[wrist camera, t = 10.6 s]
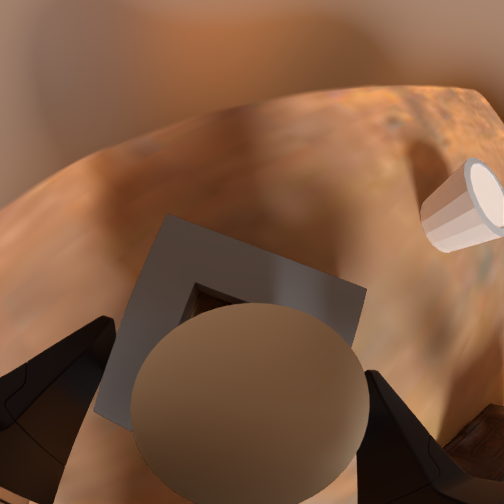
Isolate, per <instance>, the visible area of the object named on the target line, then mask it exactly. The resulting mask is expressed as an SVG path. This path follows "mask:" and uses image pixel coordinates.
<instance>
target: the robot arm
mask: <svg viewBox="0 0 504 504" xmlns="http://www.w3.org/2000/svg"><path fill="white" fill-rule="evenodd" d="M115 340H116V330H115V323H114V320H113V318H110V317H107V316H104V315H103V316H100V317H99V318H97V319H95V320H94V321H92V322H90V323H89V324H87V325H85V326H84V327H82V328H80V329H79V330H77V331H75V332H74V333H72V334H71V335H69V336H67V337H66V338H64V339H62V340H61V341H59V342H58V343H56V344H54V345H53V346H51V347H50V348H48V349H46V350H45V351H43V352H42V353H40V354H38V355H37V356H35V357H34V358H32V359H31V360H29V361H28V362H26V363H24V364H23V365H21V366H19V367H18V368H16V369H14V370H13V371H11V372H9V373H8V374H6V375H4V376H2V377H0V504H29V501H33V502H35V503H38V504H53V502H54V499H55V496H56V493H57V490H58V486H59V483H60V480H61V477H62V475H63V472H64V469H65V466H66V463H67V460H68V457H69V455H70V452H71V450H72V447H73V444H74V442H75V439H76V437H77V434H78V432H79V429H80V427H81V424H82V422H83V420H84V417H85V415H86V413H87V410H88V408H89V406H90V403H91V401H92V399H93V397H94V395H95V392H96V390H97V388H98V386H99V384H100V382H101V379H102V377H103V374H104V372H105V369H106V366H107V363H108V360H109V357H110V354H111V351H112V348H113V346H114V343H115ZM364 374H365V377H366V380H367V385H368V391H369V417H368V423H367V427H366V431H365V435H364V437H363V440H362V442H361V444H360V447H359V449H358V450H357V452H356V456H357V487H358V504H504V482H498V481H492V480H485V479H480V478H475V477H472V476H470V475H468V474H467V473H466V472H464V471H463V470H462V469H461V468H460V467H459V466H458V464H457V463H456V462H455V461H454V460H453V459H452V458H451V457H450V456H449V455H448V454H447V453H446V452H445V451H444V450H443V449H442V448H441V447H440V445H439V444H438V443H437V442H436V441H435V439H434V438H433V437H432V436H431V435H429V432H428V431H427V430H426V428H425V427H424V426H423V425H422V424H421V422H420V421H419V420H418V419H417V417H416V416H415V415H414V414H413V413H412V411H411V410H410V409H409V408H408V407H407V405H406V404H405V403H404V402H403V401H402V399H401V398H400V397H399V396H398V395H397V393H396V392H395V391H394V390H393V389H392V387H391V386H390V385H389V384H388V383H387V381H386V380H385V379H384V378H383V377H382V375H381V374H380V373H379V372H378V371H376V370H367V371H365V372H364Z"/></svg>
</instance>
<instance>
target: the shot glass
mask: <svg viewBox="0 0 504 504" xmlns="http://www.w3.org/2000/svg"><path fill="white" fill-rule="evenodd" d="M420 215H421V224H422V226H423V229H424V232H425V235H426V236H427V238H428V239H429V241H430V242H431V244H432V245H433V246H435V247H436V248H437V249H438V250H439V251H443V252H451V251H455V250H458V249H462V248H466V247H469V246H473V245H476V244H480V243H483V242H487V241H490V240H493V239H497V238H500V237H503V236H504V189H503V187H502V185H501V183H500V182H499V180H498V178H497V177H496V175H495V174H494V172H493V171H492V170H491V169H490V168H489V167H488V166H487V165H486V164H485V163H484V162H482V161H481V160H479V159H478V158H470V157H469V158H468V159H467V160H466V161H465V162H464V163H463V164H462V165H461V166H460V167H459V168H458V169H457V170H456V171H455V172H454V173H453V174H452V175H451V176H450V177H449V178H448V179H447V180H446V181H445V182H444V183H443V184H442V185H441V186H439V187H438V188H437V189H436V190H435V191H434V192H433V193H432V194H431V195H430V196H429V197H428V198H427V199H426V200H425V201H424V202H423V203H422V206H421V210H420Z"/></svg>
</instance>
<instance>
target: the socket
mask: <svg viewBox="0 0 504 504" xmlns="http://www.w3.org/2000/svg"><path fill="white" fill-rule="evenodd" d="M366 291H367V289H366V288H364V287H361V286H358V285H356V284H353V283H351V282H348V281H345V280H343V279H340V278H337V277H335V276H332V275H330V274H327V273H324V272H322V271H319V270H316V269H314V268H311V267H309V266H306V265H303V264H301V263H298V262H295V261H293V260H290V259H288V258H285V257H282V256H280V255H277V254H274V253H272V252H269V251H266V250H264V249H261V248H258V247H256V246H253V245H250V244H248V243H245V242H242V241H240V240H237V239H234V238H232V237H229V236H226V235H224V234H221V233H218V232H216V231H213V230H210V229H208V228H205V227H202V226H200V225H197V224H194V223H192V222H189V221H186V220H183V219H181V218H178V217H175V216H173V215H170V214H167V215H166V217H165V219H164V222H163V224H162V226H161V228H160V230H159V232H158V234H157V236H156V239H155V241H154V243H153V245H152V247H151V250H150V252H149V254H148V256H147V259H146V261H145V263H144V266H143V268H142V270H141V273H140V275H139V277H138V280H137V282H136V285H135V287H134V290H133V292H132V295H131V297H130V300H129V302H128V305H127V308H126V310H125V313H124V316H123V318H122V321H121V324H120V327H119V329H118V332H117V335H116V340H115V343H114V346H113V348H112V351H111V354H110V357H109V360H108V363H107V366H106V369H105V372H104V375H103V378H102V382H101V385H100V389H99V392H98V396H97V399H96V403H95V407H94V411H93V412H95V413H97V414H99V415H100V416H102V417H104V418H106V419H108V420H110V421H112V422H114V423H115V424H117V425H119V426H121V427H123V428H125V429H128V430H130V431H132V432H133V430H132V425H131V415H130V405H131V396H132V391H133V387H134V384H135V380H136V377H137V375H138V373H139V371H140V368H141V366H142V364H143V363H144V361H145V360H146V358H147V357H148V355H149V354H150V352H151V351H152V350H153V349H154V347H155V346H156V345H157V344H158V343H159V342H160V341H161V340H162V339H163V338H164V337H165V336H166V335H167V334H169V333H170V332H171V331H172V330H173V329H175V328H176V327H178V326H179V325H181V324H182V323H184V322H185V321H187V320H189V319H190V317H191V314H192V312H193V309H194V306H195V304H196V301H197V299H198V296H199V293H200V292H203V293H205V294H208V295H210V296H213V297H215V298H218V299H221V300H223V301H226V302H229V303H231V304H245V303H266V304H274V305H280V306H286V307H289V308H293V309H296V310H299V311H302V312H304V313H306V314H309V315H311V316H313V317H315V318H317V319H319V320H320V321H322V322H323V323H325V324H327V325H328V326H329V327H331V328H332V329H333V330H334V331H335V332H337V333H338V334H339V335H340V336H341V337H342V338H343V339H344V340H345V341H346V343H347V344H348V345H349V346H350V347H352V343H353V340H354V337H355V333H356V330H357V326H358V323H359V319H360V315H361V311H362V308H363V304H364V300H365V296H366Z"/></svg>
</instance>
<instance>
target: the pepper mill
mask: <svg viewBox="0 0 504 504" xmlns="http://www.w3.org/2000/svg"><path fill="white" fill-rule="evenodd" d="M443 450H444V451H445V452H446V453H447V454H448V455H449V456H450V457H451V458H452V459H453V460H454V461H455V462H456V463H457V464H458V466H459V467H460V468H461V469H462V470H463V471H464V472H466V473H467V474H468V475H470V476H472V477H475V478H480V479H485V480H492V481H498V482H504V406H498V405H494V404H490V405H489V406H488V407H487V408H486V409H485V410H484V411H483V412H482V413H481V414H480V415H478V416H477V417H476V418H475V419H474V420H473V421H472V422H471V423H469V424H468V425H467V426H466V427H465V428H464V429H463V430H462V431H461V432H460V433H459V434H458V435H457V436H456V437H455V438H454V439H453V440H452V441H451V442H450V443H449V444H448V445H447V446H446V447H444V448H443Z"/></svg>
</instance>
